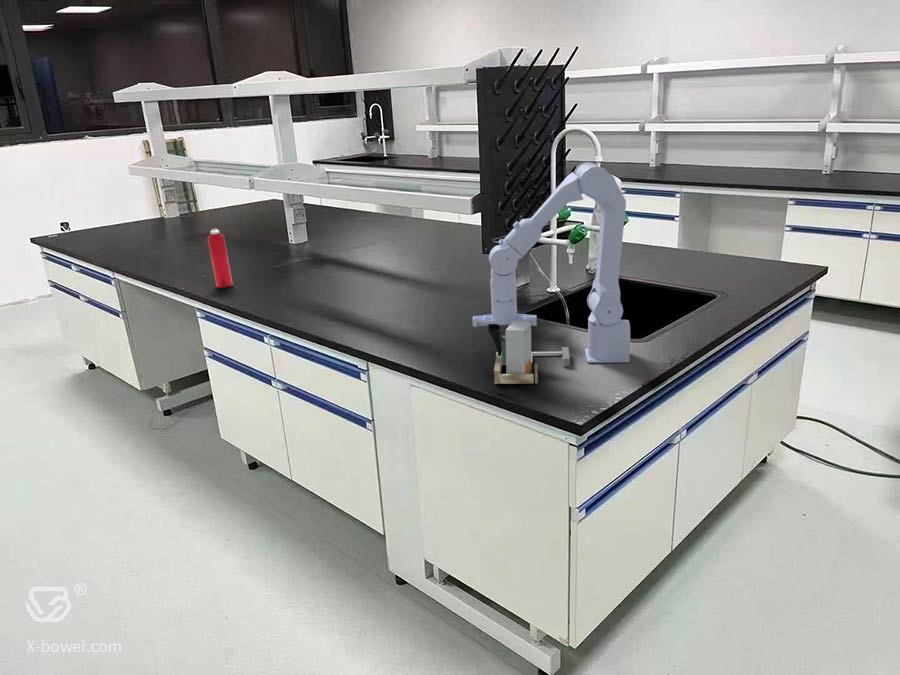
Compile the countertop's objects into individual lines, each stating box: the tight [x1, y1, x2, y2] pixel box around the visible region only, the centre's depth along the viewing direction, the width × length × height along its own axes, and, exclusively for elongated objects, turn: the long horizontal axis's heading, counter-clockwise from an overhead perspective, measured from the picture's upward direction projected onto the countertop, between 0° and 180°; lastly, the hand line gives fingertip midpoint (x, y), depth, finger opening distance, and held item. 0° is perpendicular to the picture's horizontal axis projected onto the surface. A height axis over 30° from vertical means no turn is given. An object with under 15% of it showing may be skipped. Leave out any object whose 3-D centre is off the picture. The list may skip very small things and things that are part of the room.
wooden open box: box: [493, 335, 539, 385], centre depth 151 cm, size 9×15×6 cm, turn 174°
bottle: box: [207, 228, 234, 289], centre depth 232 cm, size 6×5×20 cm
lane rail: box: [495, 346, 571, 368], centre depth 157 cm, size 17×7×2 cm, turn 83°
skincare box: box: [505, 321, 532, 374], centre depth 147 cm, size 6×4×12 cm
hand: (505, 354), depth 157 cm, fingers open, 2 cm apart
